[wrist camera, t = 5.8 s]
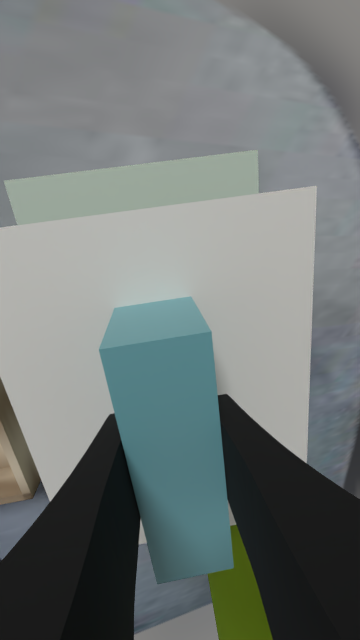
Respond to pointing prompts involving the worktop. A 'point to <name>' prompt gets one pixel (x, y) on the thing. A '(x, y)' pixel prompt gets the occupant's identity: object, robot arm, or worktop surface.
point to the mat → (133, 187)
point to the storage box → (14, 457)
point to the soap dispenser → (238, 598)
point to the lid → (162, 350)
